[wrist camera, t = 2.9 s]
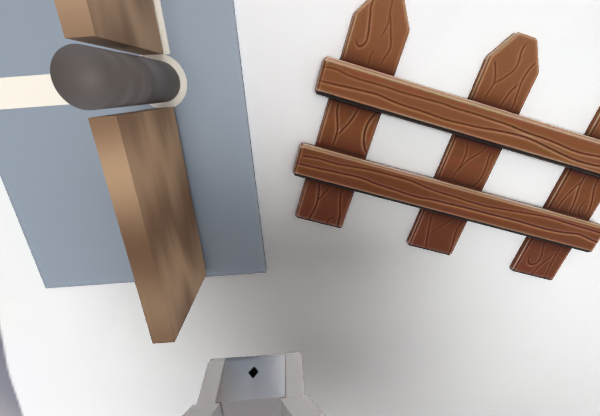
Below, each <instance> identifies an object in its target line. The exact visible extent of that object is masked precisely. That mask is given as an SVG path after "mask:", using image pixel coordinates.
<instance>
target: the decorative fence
mask: <svg viewBox="0 0 600 416" xmlns="http://www.w3.org/2000/svg"><path fill="white" fill-rule="evenodd" d="M408 34H409V23H408V17H407V11H406V5H405V0H367V1H366V2H365V3H363V4H362V5H361V6H360V7H359V8H358V9H357V10H356V11H355V13H354V14H353V17H352V20H351V24H350V27H349V31H348V34H347V38H346V41H345V44H344V48H343V51H342V55H341V58H340V60H338V59H335V58H332V57H329V56H327V57H326V58H325V59H324V60H323V63H322V67H321V70H320V74H319V78H318V81H317V85H316V89H315V91H316V93H317V94H319V95H323V96H326V97H329V100H328V103H327V107H326V110H325V114H324V117H323V120H322V124H321V127H320V131H319V134H318V138H317V141H316V145H315V146H314V145H310V144H307V143H302V144H301V145H300V147H299V151H298V155H297V158H296V162H295V165H294V169H293V173H294V175H295V176H299V177H303V178H306V179H305V183H304V186H303V189H302V193H301V196H300V200H299V203H298V207H297V210H296V217H297V218H302V219H306V220H310V221H314V222H318V223H322V224H326V225H330V226H334V227H338V228H341V227H342V225H343V222H344V220H345V217H346V214H347V211H348V208H349V205H350V202H351V199H352V196H353V193H354V191H356V192H360V193H364V194H368V195H371V196H375V197H379V198H383V199H387V200H391V201H394V202H398V203H402V204H406V205H410V206H413V207H417V208H421V209H420V211H419V214H418V216H417V218H416V221H415V223H414V225H413V228H412V230H411V232H410V235H409V237H408V239H407V243H408V244H409V245H411V246H415V247H419V248H423V249H427V250H431V251H435V252H439V253H443V254H447V255H450V254H452V251H453V249H454V247H455V245H456V243H457V241H458V239H459V237H460V235H461V233H462V231H463V229H464V227H465V225H466V222H467V221H471V222H474V223H478V224H482V225H486V226H490V227H494V228H497V229H501V230H505V231H509V232H513V233H516V234H520V235H524V236H527V237H526V238H525V240H524V242H523V244H522V245H521V247H520V249H519V251H518V253H517V254H516V256H515V258H514V260H513V261H512V263H511V265H510V269H512V270H513V271H516V272H520V273H524V274H528V275H532V276H536V277H540V278H544V279H548V280H552V279H553V277H554V276H555V274H556V273H557V271H558V269H559V268H560V266H561V264H562V263H563V261H564V260H565V258H566V256H567V255H568V253H569V252H570V250H571V248H574V249H577V250H581V251H585V252H591V251H593V249H594V248H595V246H596V244H597V243H598V241H599V240H600V224H598V223H594V222H591V221H589V219H590V218H591V216H592V214H593V213H594V211H595V210H596V208H597V206H598V205H599V203H600V107H599V109H598V111H597V112H596V114H595V116H594V118H593V120H592V121H591V123H590V125H589V127H588V128H587V130H586V132H585V134H584V135H582V134H579V133H576V132H572V131H569V130H566V129H563V128H559V127H556V126H553V125H550V124H546V123H543V122H540V121H537V120H533V119H530V118H527V117H524V116H520V115H519V113H520V111H521V109H522V107H523V105H524V102H525V100H526V98H527V96H528V94H529V92H530V90H531V88H532V86H533V84H534V82H535V80H536V78H537V76H538V73H539V65H538V45H537V39H536V38H534V37H531V36H528V35H525V34H522V33H519V32H518V33H514V34H512V35H511V36H510V37H508V38H507V39H506V40H505V41H504V42H502V43H501V44H500V45H499V46H498V47H497V48H495V49H494V50H493V51H492V52H491V53H489V54H488V55H487V56H486V58H485V59H484V62H483V64H482V66H481V69H480V71H479V73H478V76H477V78H476V80H475V83H474V85H473V87H472V90H471V92H470V94H469V97H468V99H465V98H462V97H459V96H455V95H452V94H449V93H446V92H442V91H439V90H436V89H433V88H429V87H426V86H423V85H420V84H416V83H413V82H410V81H407V80H403V79H400V78H397V77H394V75H395V72H396V69H397V66H398V63H399V60H400V57H401V55H402V52H403V49H404V46H405V43H406V40H407V37H408ZM381 113H384V114H387V115H391V116H394V117H398V118H401V119H404V120H408V121H411V122H415V123H418V124H421V125H425V126H428V127H432V128H435V129H438V130H442V131H445V132H449V133H452V137H451V139H450V141H449V144H448V146H447V148H446V151H445V153H444V155H443V158H442V160H441V162H440V165H439V167H438V169H437V172H436V174H435V176H434V178H430V177H427V176H423V175H420V174H416V173H412V172H409V171H405V170H401V169H398V168H394V167H390V166H387V165H383V164H379V163H376V162H372V161H369V160H365V159H366V156H367V153H368V150H369V147H370V144H371V141H372V138H373V136H374V133H375V130H376V127H377V124H378V121H379V118H380V115H381ZM502 148H503V149H507V150H510V151H514V152H517V153H520V154H524V155H527V156H531V157H534V158H537V159H541V160H544V161H548V162H551V163H554V164H558V165H561V166H565V169H564V171H563V173H562V174H561V176H560V178H559V180H558V182H557V183H556V185H555V187H554V189H553V190H552V192H551V194H550V196H549V198H548V199H547V201H546V203H545V205H544V206H543V208H540V207H536V206H532V205H529V204H525V203H521V202H518V201H514V200H511V199H507V198H503V197H500V196H496V195H492V194H489V193H485V192H481V191H482V189H483V187H484V185H485V183H486V181H487V179H488V177H489V175H490V173H491V171H492V169H493V167H494V165H495V162H496V160H497V158H498V156H499V154H500V152H501V150H502Z"/></svg>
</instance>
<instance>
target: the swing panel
mask: <svg viewBox="0 0 600 416" xmlns="http://www.w3.org/2000/svg"><path fill="white" fill-rule="evenodd" d="M88 120H89V124H90V127H91V131H92V134H93V138H94V141H95V145H96V148H97V152H98V155H99V159H100V162H101V166H102V169H103V173H104V176H105V179H106V183H107V186H108V190H109V193H110V197H111V200H112V204H113V207H114V211H115V214H116V218H117V221H118V225H119V228H120V232H121V235H122V238H123V242H124V245H125V249H126V252H127V256H128V259H129V263H130V266H131V270H132V273H133V277H134V280H135V284H136V287H137V290H138V294H139V297H140V301H141V304H142V308H143V311H144V315H145V318H146V322H147V325H148V329H149V332H150V336H151V339H152V343H167V342H175V340H176V338H177V336H178V334H179V331H180V329H181V327H182V325H183V323H184V321H185V318H186V316H187V314H188V312H189V310H190V308H191V306H192V303H193V301H194V299H195V297H196V295H197V293H198V291H199V288H200V286H201V284H202V282H203V280H204V278H205V276H206V269H205V264H204V259H203V254H202V249H201V244H200V239H199V233H198V228H197V223H196V218H195V213H194V208H193V203H192V198H191V193H190V188H189V183H188V178H187V173H186V168H185V162H184V157H183V152H182V147H181V142H180V137H179V132H178V127H177V122H176V117H175V112H174V107H164V108H153V109H146V110H139V111H132V112H125V113H118V114H111V115H105V116H98V117H91V118H88Z"/></svg>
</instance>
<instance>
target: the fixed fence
mask: <svg viewBox="0 0 600 416" xmlns="http://www.w3.org/2000/svg"><path fill="white" fill-rule="evenodd" d="M54 3H55V6H56V9H57V13H58V16H59V20H60V23H61V27H62V30H63V34H64V37H65V38H66V39H70V40H75V41H80V42H84V43H89V44H93V45H98V46H102V47H107V48H112V49H116V50H121V51H125V52H130V53H134V54H139V55H154V54H163V51H162V46H161V41H160V36H159V31H158V25H157V20H156V15H155V10H154V5H153V0H54ZM50 76H51V80H52V83H53V85H54V87H55V89H56V91H57V92H58V94H59V95H60V96H61V97H62V98H63V99H64V100H65V101H66V102H67V103H69V104H70V105H72V106H74V107H76V108H79V109H82V110H99V109H109V108H118V107H127V106H136V105H145V104H154V103H163V102H169V101H171V100H173V99H174V98H175V97H176V96H177V95H178V93H179V90H180V79H179V76H178V74H177V72H176V70H175V69H174V68H173V67H172V66H171V65H170V64H168V63H166V62H164V61H160V60H155V59H150V58H145V57H140V56H135V55H131V54H126V53H121V52H116V51H111V50H107V49H102V48H97V47H92V46H87V45H82V44H68V45H65V46H63V47H61V48H60V49H58V50H57V51H56V53H55V54H54V56H53V58H52V60H51V64H50Z"/></svg>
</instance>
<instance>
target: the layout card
mask: <svg viewBox="0 0 600 416" xmlns="http://www.w3.org/2000/svg"><path fill="white" fill-rule="evenodd" d="M153 5H154V10H155V15H156V20H157V25H158V31H159V36H160V41H161V46H162V51H163V54H154V55H139V54H134V53H130V52H125V51H121V50H116V49H112V48H107V47H102V46H98V45H93V44H89V43H84V42H80V41H75V40H70V39H66V38H65V37H64V34H63V30H62V27H61V23H60V20H59V16H58V13H57V9H56V6H55V3H54V0H0V176H1V178H2V181H3V183H4V186H5V188H6V191H7V193H8V196H9V198H10V201H11V203H12V206H13V208H14V211H15V213H16V216H17V218H18V221H19V223H20V226H21V228H22V231H23V233H24V236H25V238H26V240H27V243H28V245H29V248H30V250H31V253H32V255H33V258H34V260H35V263H36V265H37V268H38V270H39V273H40V275H41V278H42V280H43V283H44V285H45V288H56V287H70V286H84V285H98V284H111V283H125V282H135V280H134V277H133V273H132V270H131V266H130V263H129V259H128V256H127V252H126V249H125V245H124V242H123V238H122V235H121V232H120V228H119V225H118V221H117V218H116V214H115V211H114V207H113V204H112V200H111V197H110V193H109V190H108V186H107V183H106V179H105V176H104V173H103V169H102V166H101V162H100V159H99V155H98V152H97V148H96V145H95V141H94V138H93V134H92V131H91V127H90V124H89V120H88V118H91V117H98V116H105V115H111V114H118V113H125V112H132V111H139V110H146V109H153V108H164V107H174V112H175V117H176V122H177V127H178V132H179V137H180V142H181V147H182V152H183V157H184V162H185V168H186V173H187V178H188V183H189V188H190V193H191V198H192V203H193V208H194V213H195V218H196V223H197V228H198V233H199V239H200V244H201V249H202V254H203V259H204V264H205V269H206V276H205V277H208V276H222V275H235V274H249V273H263V272H266V264H265V256H264V248H263V240H262V232H261V223H260V215H259V207H258V199H257V191H256V183H255V174H254V166H253V158H252V150H251V142H250V134H249V126H248V117H247V109H246V101H245V93H244V85H243V77H242V68H241V60H240V52H239V44H238V36H237V28H236V20H235V11H234V3H233V0H153ZM68 44H82V45H87V46H92V47H97V48H102V49H107V50H111V51H116V52H121V53H126V54H131V55H135V56H140V57H145V58H150V59H155V60H160V61H164V62H166V63H168V64H170V65H171V66H172V67H173V68H174V69H175V70H176V72H177V74H178V76H179V79H180V90H179V93H178V95H177V96H176V97H175V98H174V99H173V100H171V101H169V102H163V103H154V104H145V105H136V106H127V107H118V108H109V109H99V110H82V109H79V108H76V107H74V106H72V105H70V104H69V103H67V102H66V101H65V100H64V99H63V98H62V97H61V96H60V95H59V94H58V92H57V91H56V89H55V87H54V85H53V83H52V80H51V76H50V64H51V60H52V58H53V56H54V54H55V53H56V51H57V50H58V49H60V48H61V47H63V46H65V45H68Z"/></svg>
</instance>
